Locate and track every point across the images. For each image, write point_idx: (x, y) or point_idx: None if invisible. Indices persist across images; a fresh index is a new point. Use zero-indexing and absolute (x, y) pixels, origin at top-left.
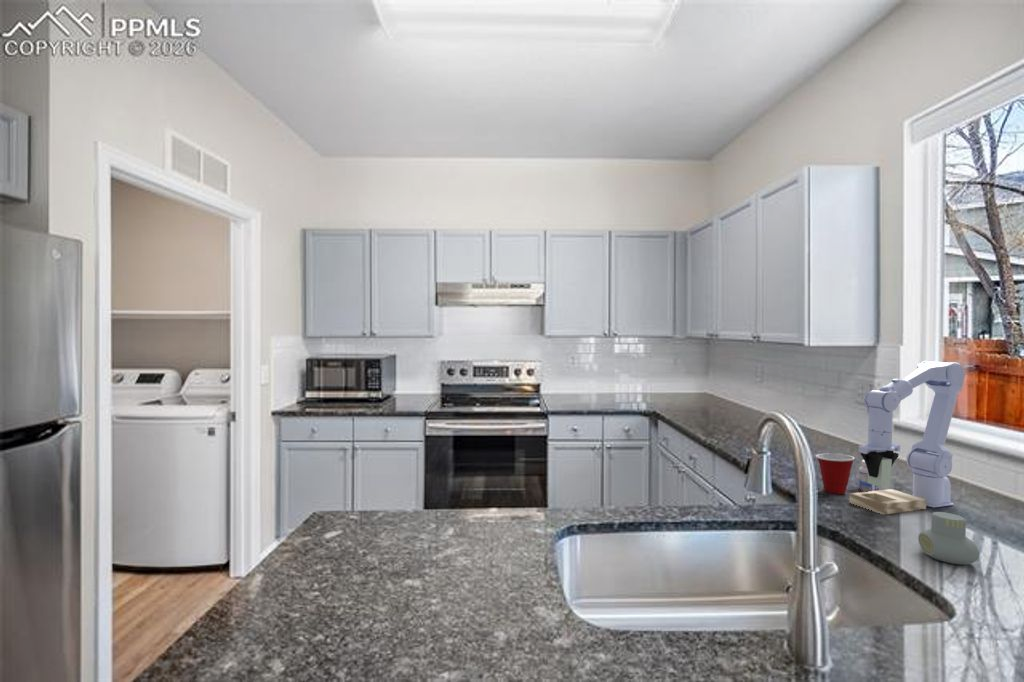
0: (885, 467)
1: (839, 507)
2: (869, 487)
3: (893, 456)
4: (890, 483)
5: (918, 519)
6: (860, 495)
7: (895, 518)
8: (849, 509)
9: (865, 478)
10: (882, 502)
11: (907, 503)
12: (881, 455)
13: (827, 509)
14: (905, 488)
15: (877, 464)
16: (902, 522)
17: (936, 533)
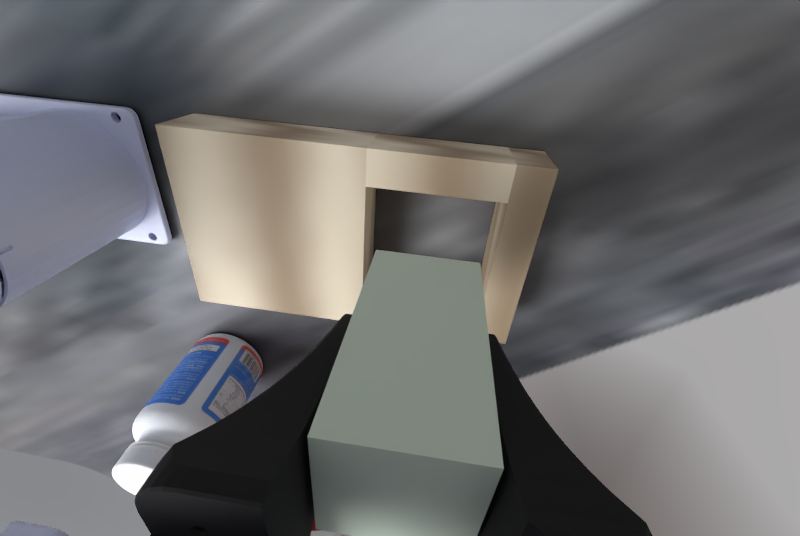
0: (432, 371)
1: (620, 298)
2: (242, 361)
3: (281, 469)
4: (378, 260)
5: (427, 7)
6: (490, 307)
7: (549, 80)
8: (610, 266)
9: (233, 403)
10: (518, 192)
11: (332, 139)
12: (303, 528)
13: (716, 305)
14: (40, 315)
15: (546, 431)
16: (601, 9)
17: None
